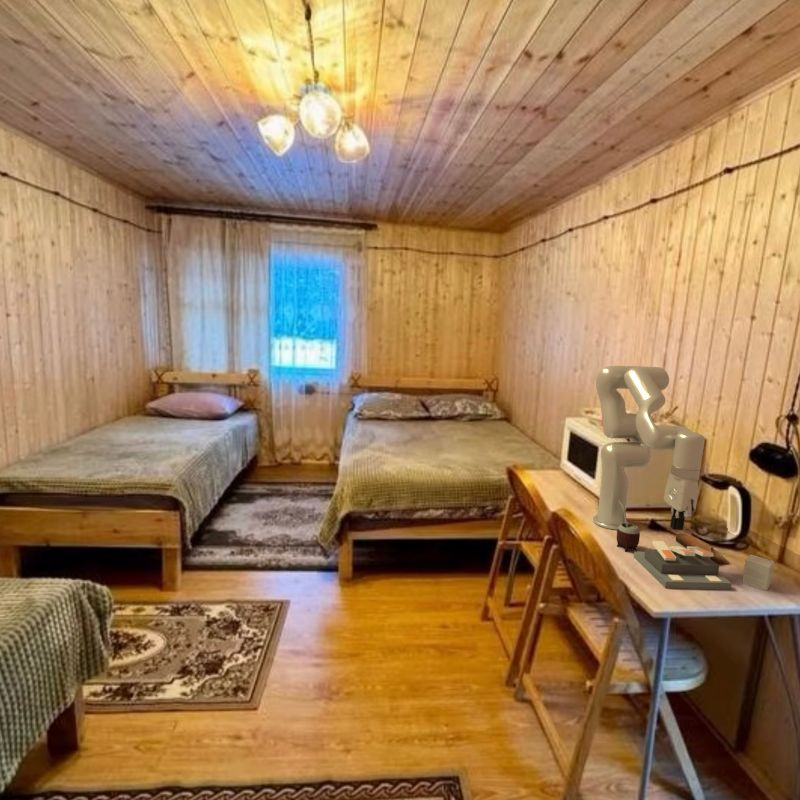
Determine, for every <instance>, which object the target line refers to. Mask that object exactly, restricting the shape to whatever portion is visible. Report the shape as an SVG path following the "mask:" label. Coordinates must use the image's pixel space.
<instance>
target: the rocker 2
mask: <svg viewBox="0 0 800 800" xmlns="http://www.w3.org/2000/svg"><path fill="white" fill-rule="evenodd" d="M686 549H687V550H690V551H692V552H695V553H696V556H697V557H704V556H709V557H713V553H712V552H709V551H707V550H704V549H701V548H699V547H686Z"/></svg>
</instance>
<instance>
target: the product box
mask: <svg viewBox="0 0 800 800" xmlns="http://www.w3.org/2000/svg"><path fill="white" fill-rule="evenodd" d="M744 562H745V563H744V569H743V575H742V584H745V585H748V586H751V587H754V588H757V589H760V590H763V591H766V592H767V591H768V590H769V587H770V585H771V584H772V578H773V572H774V565H775V561H774V560H771V559H768V558H765V557H761V556H757V555H754V554H749V555H748V556H747V558H746V559H745V561H744Z"/></svg>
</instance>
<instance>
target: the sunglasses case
mask: <svg viewBox="0 0 800 800" xmlns="http://www.w3.org/2000/svg"><path fill="white" fill-rule="evenodd" d="M675 541H676V542H677V543H679V544H681V545H682V546H683V547H686V548H687V547H699V548H701V549H704V550H707V551H709V552H712V553H713V557H709V556H707V557H708V558H710V559H711V560H712V561H714V562H715V563H716V564H718V565H719V566H728V565H729V566H732V564H731V563H730V561H729V560H728V559H727V558H726V557H724V556H723V555H722V554H721V553H719V552H718V551H717V550H715V549H714V547H713V546H711V545H710V544H709V543H707V542H705V541H703V540H701V539H699V538H698V537H696V536H692V535H691V534H687V533H684V532H680V533H678V534H677V535H676V537H675Z"/></svg>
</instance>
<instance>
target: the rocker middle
mask: <svg viewBox="0 0 800 800" xmlns="http://www.w3.org/2000/svg"><path fill="white" fill-rule="evenodd" d="M668 548H669V549H670V550H672V551H674V552H677V553H678V556H695V552H692V551H690V550H687V548H684V547H682V546H678V545H677V546H675V545H670V546H668Z"/></svg>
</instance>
